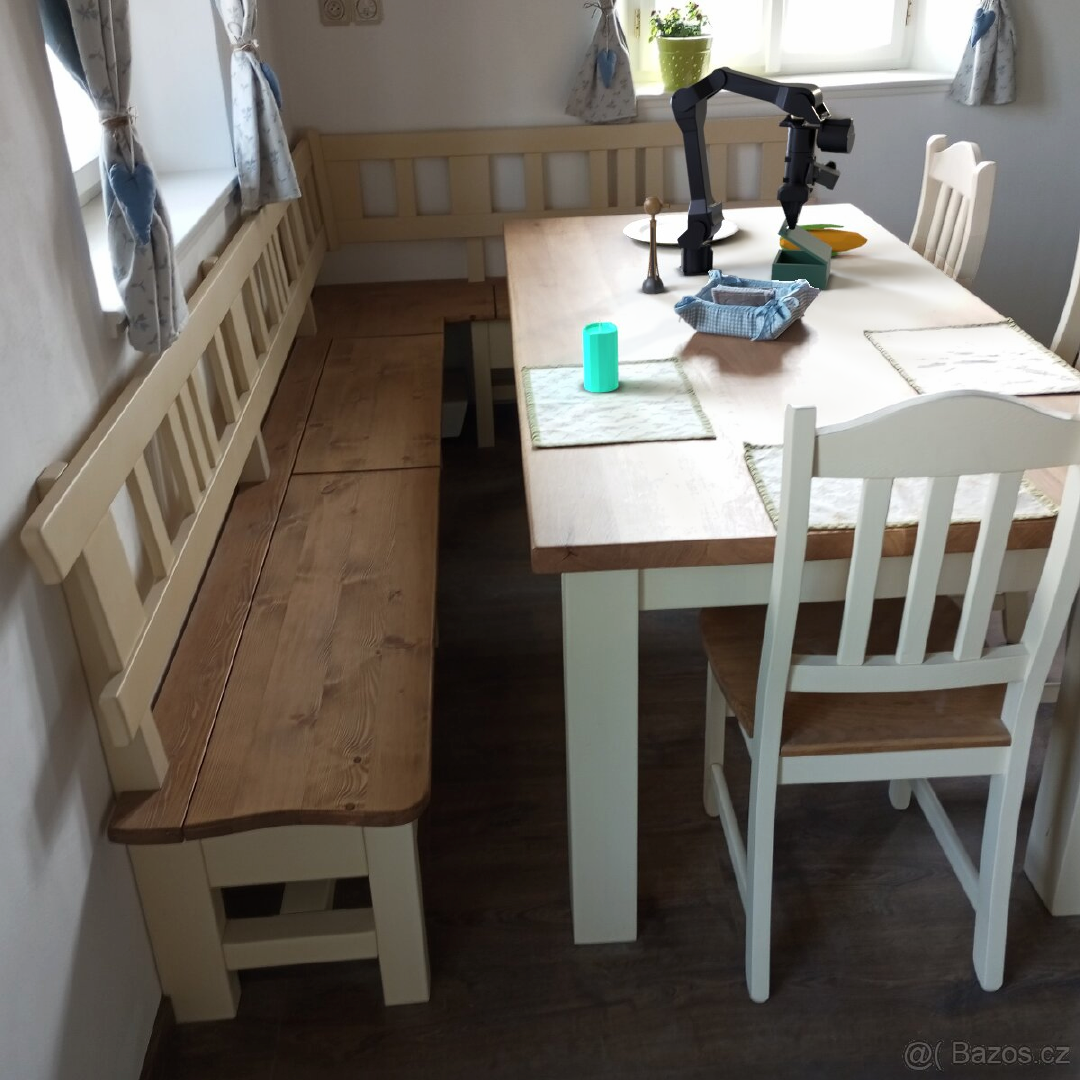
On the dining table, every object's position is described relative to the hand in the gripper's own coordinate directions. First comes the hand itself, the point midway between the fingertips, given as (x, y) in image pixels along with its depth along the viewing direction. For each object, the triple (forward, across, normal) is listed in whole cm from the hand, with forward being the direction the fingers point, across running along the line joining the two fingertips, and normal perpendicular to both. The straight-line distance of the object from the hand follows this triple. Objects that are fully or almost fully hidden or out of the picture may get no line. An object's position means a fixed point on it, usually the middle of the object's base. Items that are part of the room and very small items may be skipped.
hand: (793, 226), depth 234 cm
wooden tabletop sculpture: (+13, -11, +27) cm, 32 cm away
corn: (+12, +22, -5) cm, 25 cm away
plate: (+13, +37, +31) cm, 50 cm away
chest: (+12, 0, -3) cm, 12 cm away
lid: (+3, 0, -3) cm, 4 cm away
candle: (+13, -69, +24) cm, 74 cm away
